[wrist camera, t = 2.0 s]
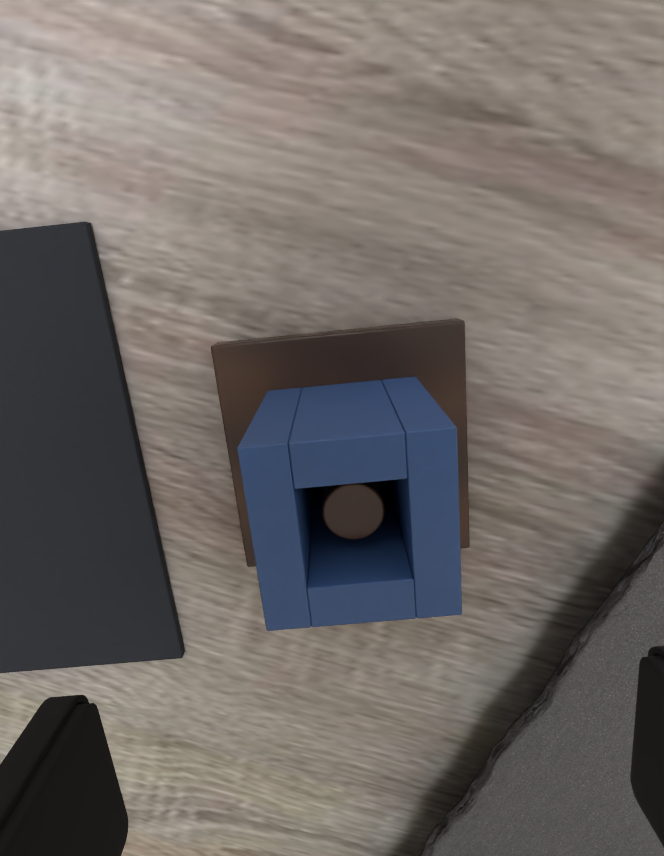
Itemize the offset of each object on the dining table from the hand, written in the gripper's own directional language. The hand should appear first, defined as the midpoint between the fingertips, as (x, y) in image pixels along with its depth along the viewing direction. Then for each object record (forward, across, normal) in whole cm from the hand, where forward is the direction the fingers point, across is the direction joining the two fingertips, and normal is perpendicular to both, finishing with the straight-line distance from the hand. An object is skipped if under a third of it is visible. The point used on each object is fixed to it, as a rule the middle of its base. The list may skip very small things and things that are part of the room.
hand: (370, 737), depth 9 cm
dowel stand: (+14, 0, -1) cm, 14 cm away
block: (+13, 0, -1) cm, 13 cm away
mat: (+14, +17, -1) cm, 22 cm away
